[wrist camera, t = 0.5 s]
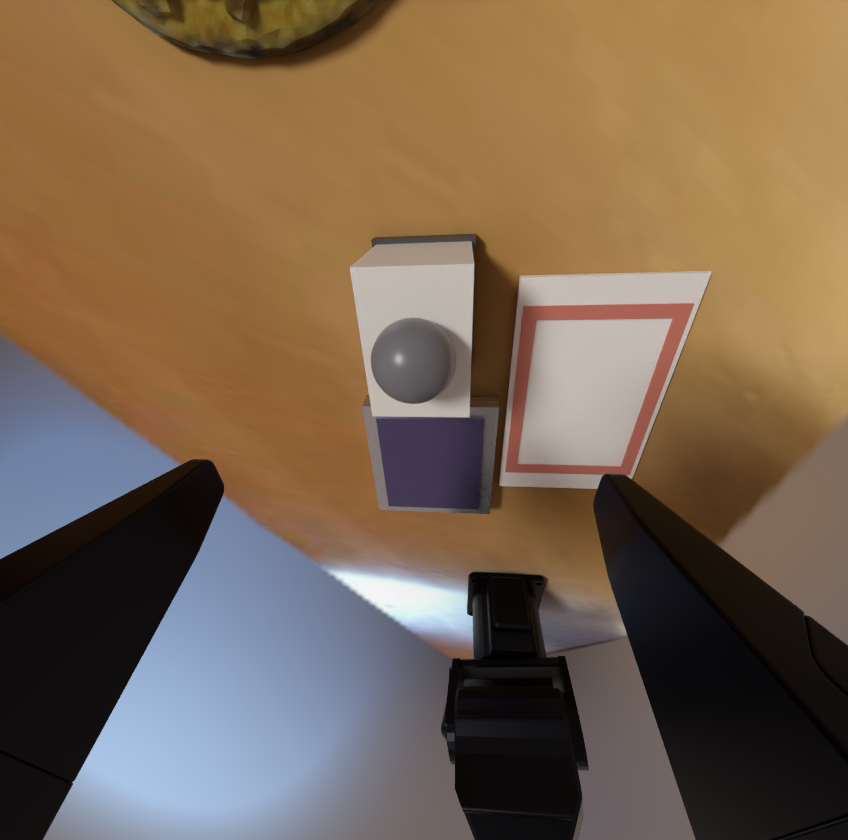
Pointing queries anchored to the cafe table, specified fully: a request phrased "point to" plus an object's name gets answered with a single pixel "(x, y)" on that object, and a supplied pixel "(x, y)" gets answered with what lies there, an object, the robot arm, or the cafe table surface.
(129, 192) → the cafe table surface
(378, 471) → the ink pad
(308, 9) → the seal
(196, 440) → the cafe table surface
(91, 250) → the cafe table surface
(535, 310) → the sheet
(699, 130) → the cafe table surface
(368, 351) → the stamp
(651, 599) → the robot arm
